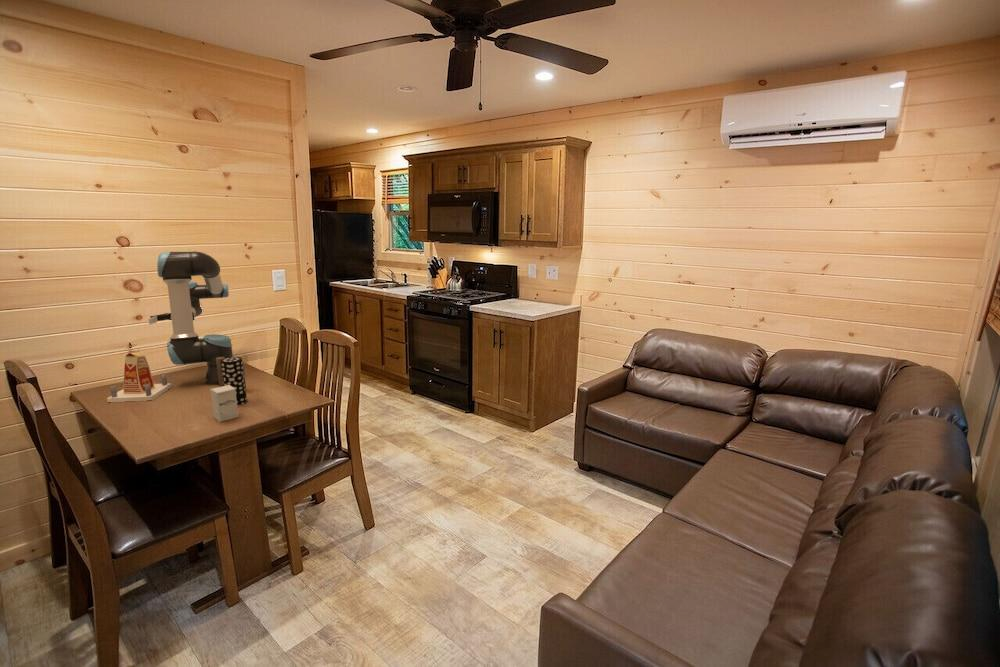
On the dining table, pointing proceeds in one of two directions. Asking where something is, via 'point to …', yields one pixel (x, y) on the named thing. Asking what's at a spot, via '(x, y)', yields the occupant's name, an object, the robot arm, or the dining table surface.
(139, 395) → the peg platform
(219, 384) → the wooden block
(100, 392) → the dining table surface
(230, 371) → the white-spotted black cylinder
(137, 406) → the dining table surface
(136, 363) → the milk carton
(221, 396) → the supplement box
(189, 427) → the dining table surface
